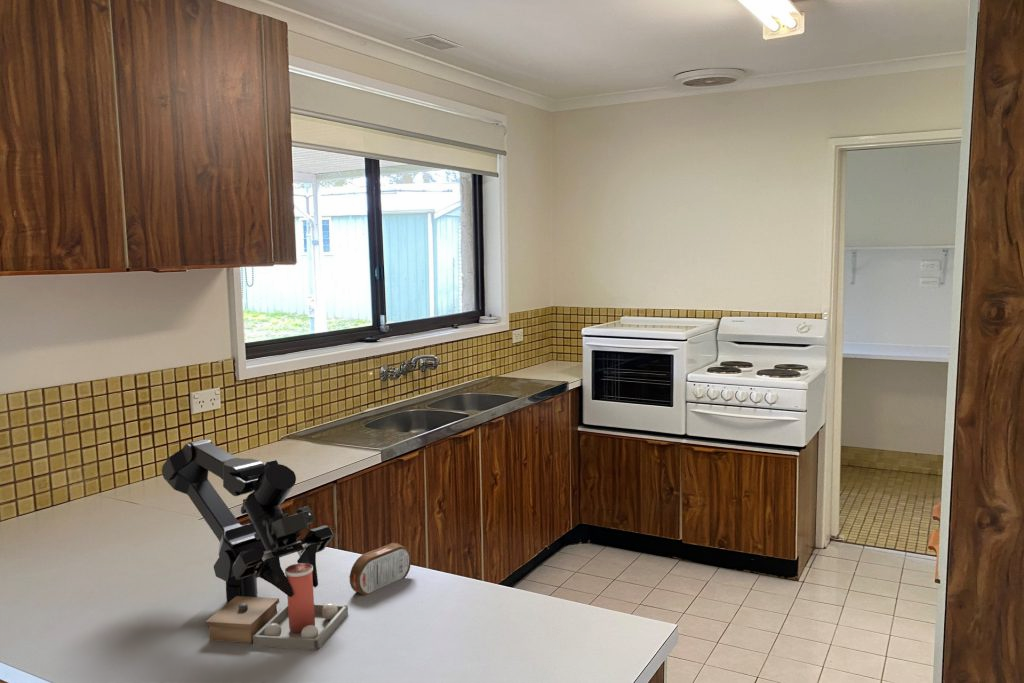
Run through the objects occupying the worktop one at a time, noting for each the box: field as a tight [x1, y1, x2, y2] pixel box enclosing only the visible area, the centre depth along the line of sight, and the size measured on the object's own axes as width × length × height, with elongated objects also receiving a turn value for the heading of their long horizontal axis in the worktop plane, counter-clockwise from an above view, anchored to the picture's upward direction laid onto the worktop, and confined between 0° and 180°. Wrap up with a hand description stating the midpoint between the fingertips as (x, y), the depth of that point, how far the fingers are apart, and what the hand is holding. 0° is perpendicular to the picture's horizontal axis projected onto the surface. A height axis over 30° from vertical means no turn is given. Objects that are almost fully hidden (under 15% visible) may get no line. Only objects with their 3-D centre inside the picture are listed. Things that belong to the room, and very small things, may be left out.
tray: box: [252, 602, 349, 651], centre depth 146 cm, size 14×12×2 cm
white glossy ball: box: [301, 625, 318, 639], centre depth 141 cm, size 3×3×3 cm
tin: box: [349, 542, 412, 596], centre depth 165 cm, size 15×3×8 cm, turn 141°
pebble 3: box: [322, 602, 338, 620], centre depth 149 cm, size 3×3×3 cm
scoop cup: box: [284, 562, 315, 632], centre depth 145 cm, size 5×5×11 cm
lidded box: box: [204, 596, 280, 644], centre depth 147 cm, size 11×9×5 cm
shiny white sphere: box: [264, 623, 282, 636], centre depth 142 cm, size 3×3×3 cm
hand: (304, 590), depth 144 cm, fingers open, 5 cm apart
